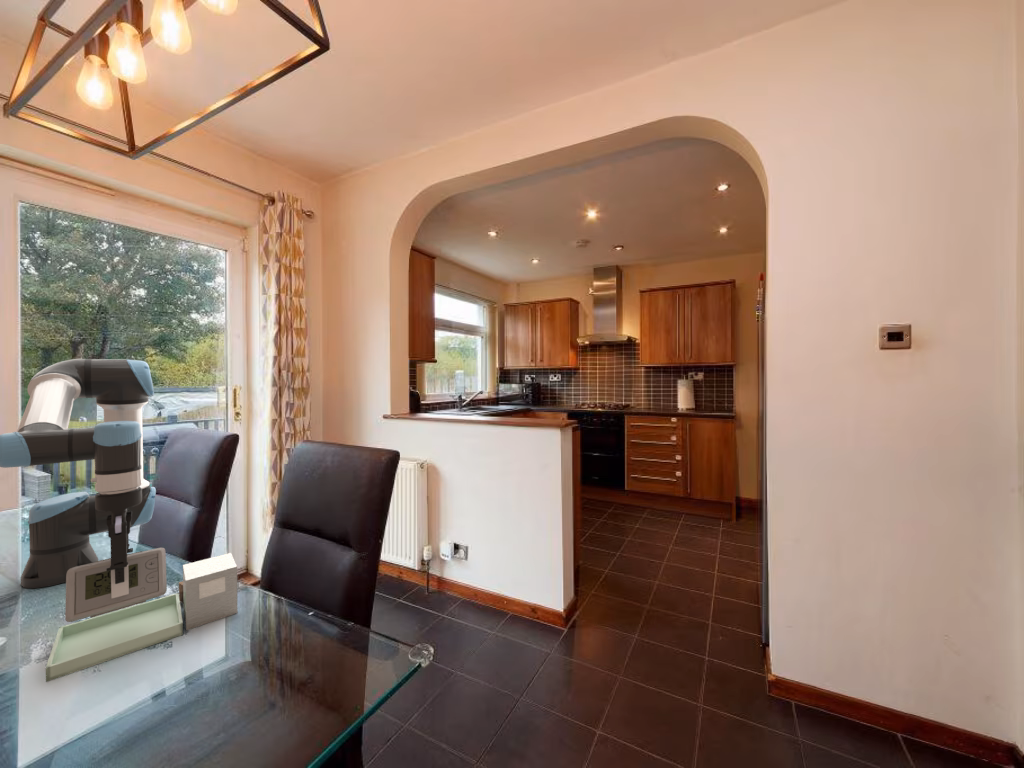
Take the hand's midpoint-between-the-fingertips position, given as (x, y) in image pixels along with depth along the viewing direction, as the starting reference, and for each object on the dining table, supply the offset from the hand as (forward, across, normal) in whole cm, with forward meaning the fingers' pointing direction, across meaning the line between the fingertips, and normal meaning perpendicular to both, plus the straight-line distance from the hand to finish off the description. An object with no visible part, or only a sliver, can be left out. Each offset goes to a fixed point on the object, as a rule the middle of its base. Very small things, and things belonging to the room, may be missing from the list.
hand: (121, 589), depth 89 cm
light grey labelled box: (+11, +2, +16) cm, 20 cm away
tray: (+11, 0, 0) cm, 11 cm away
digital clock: (+3, +1, 0) cm, 4 cm away
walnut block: (+11, -8, +14) cm, 19 cm away
